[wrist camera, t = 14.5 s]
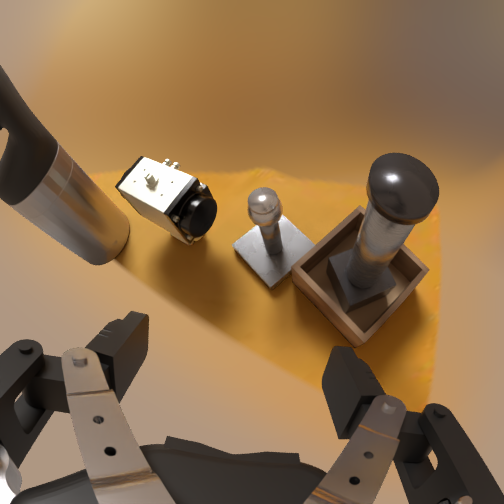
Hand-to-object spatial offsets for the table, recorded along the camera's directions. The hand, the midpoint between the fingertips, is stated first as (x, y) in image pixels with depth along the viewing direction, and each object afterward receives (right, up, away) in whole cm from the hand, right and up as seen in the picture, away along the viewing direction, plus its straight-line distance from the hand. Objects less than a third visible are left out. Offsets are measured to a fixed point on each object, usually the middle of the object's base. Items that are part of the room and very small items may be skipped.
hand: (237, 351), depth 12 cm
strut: (+12, +1, +19) cm, 22 cm away
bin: (+12, +1, +20) cm, 23 cm away
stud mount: (+3, +4, +23) cm, 24 cm away
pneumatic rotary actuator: (-8, +7, +26) cm, 28 cm away
